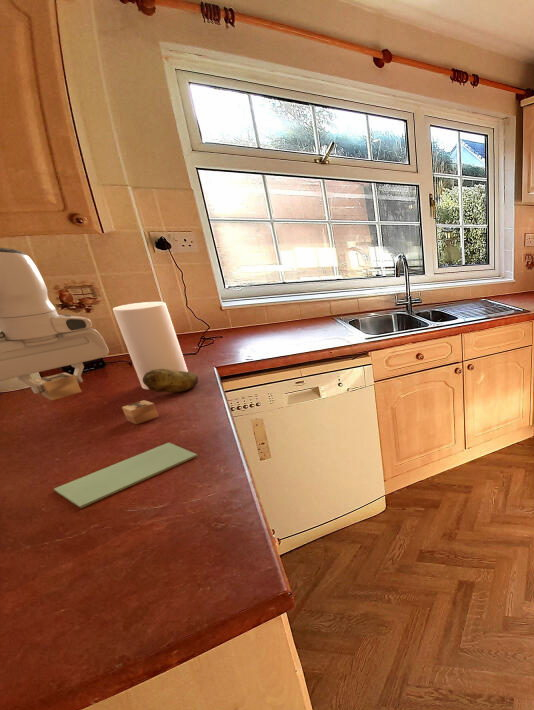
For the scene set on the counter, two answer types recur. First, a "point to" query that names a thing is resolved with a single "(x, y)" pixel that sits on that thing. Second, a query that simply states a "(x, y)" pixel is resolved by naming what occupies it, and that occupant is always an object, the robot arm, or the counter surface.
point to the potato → (169, 380)
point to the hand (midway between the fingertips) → (59, 387)
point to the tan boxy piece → (140, 412)
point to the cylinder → (149, 337)
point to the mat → (123, 474)
